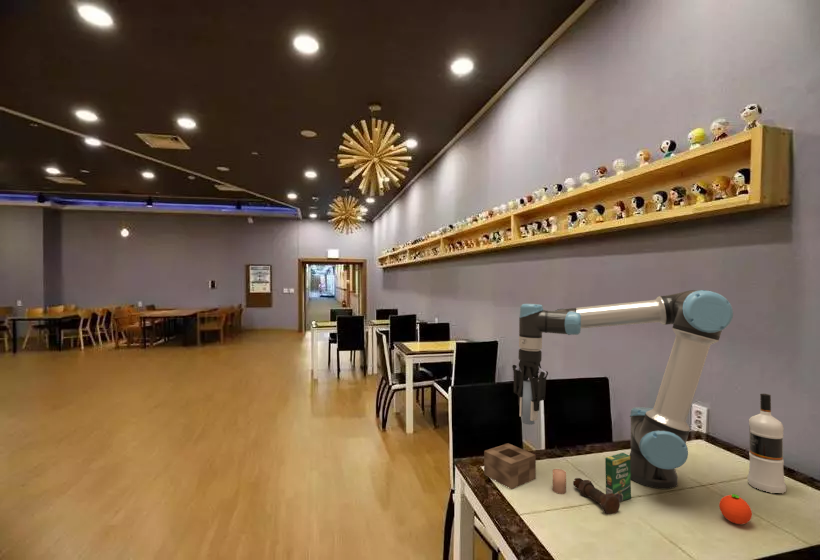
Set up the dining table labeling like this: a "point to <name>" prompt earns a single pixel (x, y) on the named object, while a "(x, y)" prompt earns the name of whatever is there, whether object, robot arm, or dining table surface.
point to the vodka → (766, 450)
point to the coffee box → (618, 476)
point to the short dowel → (559, 481)
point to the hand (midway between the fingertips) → (528, 417)
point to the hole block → (510, 465)
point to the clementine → (735, 509)
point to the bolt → (598, 495)
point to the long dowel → (527, 402)
